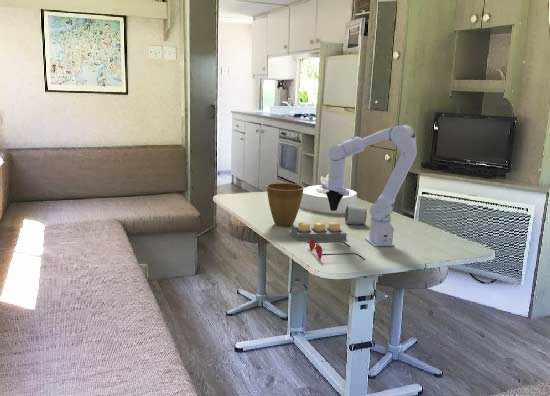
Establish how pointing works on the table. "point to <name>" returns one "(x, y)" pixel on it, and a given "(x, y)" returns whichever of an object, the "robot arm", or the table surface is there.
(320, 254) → the glasses
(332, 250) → the table surface
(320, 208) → the white decorated cake
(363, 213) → the ceramic mug
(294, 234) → the board
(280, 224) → the plant pot
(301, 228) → the pale orange rounded lump
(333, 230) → the tan rounded lump
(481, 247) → the table surface
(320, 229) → the tan rounded lump
